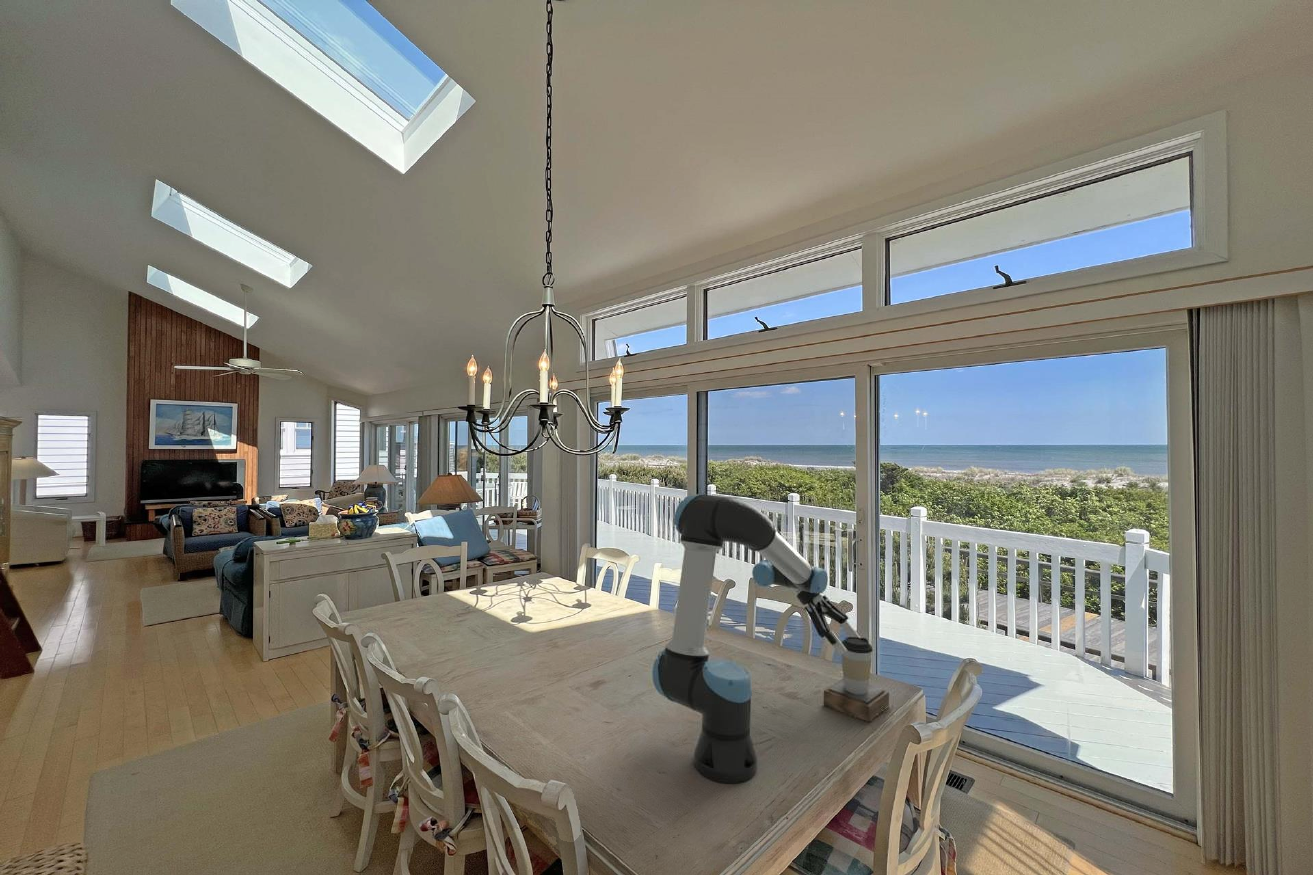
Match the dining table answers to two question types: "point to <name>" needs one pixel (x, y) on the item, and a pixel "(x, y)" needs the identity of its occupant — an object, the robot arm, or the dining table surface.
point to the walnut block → (856, 700)
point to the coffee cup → (856, 664)
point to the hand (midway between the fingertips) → (850, 646)
